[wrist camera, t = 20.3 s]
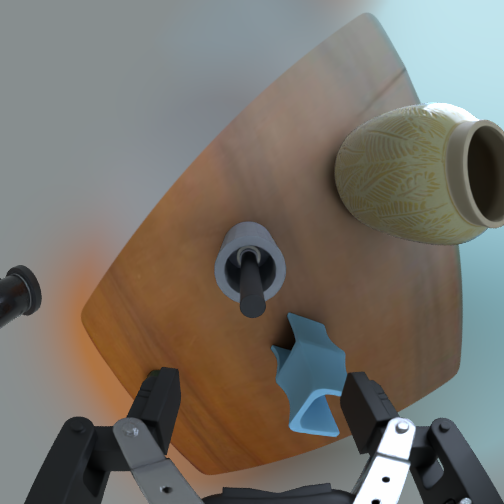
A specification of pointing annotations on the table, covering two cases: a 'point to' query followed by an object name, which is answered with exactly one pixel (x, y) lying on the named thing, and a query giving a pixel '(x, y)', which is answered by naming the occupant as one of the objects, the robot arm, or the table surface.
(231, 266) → the cup
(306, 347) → the blue bent piece
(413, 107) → the vase
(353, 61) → the table surface
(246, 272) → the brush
